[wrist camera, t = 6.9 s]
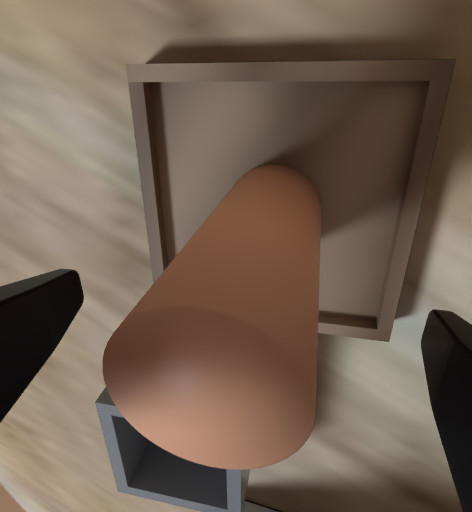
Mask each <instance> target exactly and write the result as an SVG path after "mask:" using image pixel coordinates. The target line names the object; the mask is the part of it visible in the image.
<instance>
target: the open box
mask: <svg viewBox="0 0 472 512" xmlns="http://www.w3.org/2000/svg"><path fill="white" fill-rule="evenodd" d="M95 404H96V408H97V412H98V416H99V419H100V423H101V427H102V431H103V435H104V439H105V443H106V447H107V451H108V455H109V458H110V462H111V466H112V470H113V474H114V478H115V482H116V486H117V490H118V492H122V493H126V494H130V495H135V496H139V497H143V498H147V499H152V500H156V501H160V502H164V503H169V504H173V505H177V506H181V507H185V508H190V509H194V510H198V511H202V512H243V506H244V501H245V495H246V490H247V484H248V479H249V474H250V469H222V468H216V467H210V466H205V465H202V464H198V463H194V462H192V461H189V460H186V459H183V458H181V457H179V456H176V455H174V454H172V453H170V452H168V451H166V450H164V449H162V448H161V447H159V446H157V445H156V444H154V443H153V442H151V441H150V440H148V439H147V438H146V437H144V436H143V435H142V434H141V433H139V432H138V431H137V430H136V429H135V428H134V427H133V426H132V425H131V424H130V423H129V422H128V421H127V420H126V419H125V418H124V417H123V415H122V414H121V413H120V411H119V410H118V409H117V407H116V406H115V404H114V402H113V401H112V399H111V397H110V395H109V392H108V390H107V387H106V388H105V389H104V390H103V392H102V393H101V395H100V396H99V398H98V399H97V400H96V402H95Z"/></svg>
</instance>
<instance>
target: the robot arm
mask: <svg viewBox="0 0 472 512" xmlns="http://www.w3.org/2000/svg"><path fill="white" fill-rule="evenodd" d="M83 300H84V294H83V290H82V286H81V281H80V277H79V274H78V272H77V271H75V270H70V269H59V270H55V271H52V272H48V273H45V274H42V275H38V276H35V277H31V278H28V279H24V280H21V281H18V282H14V283H11V284H7V285H4V286H1V287H0V423H1V421H2V420H3V419H4V417H5V416H6V415H7V413H8V412H9V411H10V409H11V408H12V407H13V405H14V404H15V403H16V401H17V400H18V398H19V397H20V396H21V394H22V393H23V392H24V390H25V389H26V388H27V386H28V385H29V384H30V382H31V381H32V380H33V378H34V377H35V376H36V374H37V373H38V372H39V370H40V369H41V368H42V366H43V365H44V364H45V362H46V361H47V360H48V358H49V357H50V356H51V354H52V353H53V351H54V350H55V348H56V347H57V345H58V344H59V342H60V341H61V339H62V337H63V336H64V334H65V332H66V331H67V329H68V327H69V326H70V324H71V322H72V321H73V319H74V317H75V316H76V314H77V312H78V311H79V309H80V307H81V306H82V304H83ZM421 350H422V355H423V361H424V367H425V373H426V379H427V385H428V390H429V396H430V402H431V407H432V411H433V414H434V418H435V421H436V425H437V428H438V431H439V435H440V438H441V441H442V445H443V448H444V451H445V454H446V458H447V461H448V464H449V468H450V471H451V474H452V478H453V481H454V484H455V488H456V491H457V494H458V497H459V501H460V504H461V507H462V511H463V512H472V325H471V324H470V323H468V322H467V321H465V320H464V319H462V318H461V317H459V316H458V315H456V314H455V313H453V312H451V311H445V310H432V311H430V313H429V315H428V318H427V321H426V325H425V328H424V332H423V335H422V339H421Z"/></svg>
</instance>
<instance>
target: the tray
mask: <svg viewBox="0 0 472 512" xmlns="http://www.w3.org/2000/svg"><path fill="white" fill-rule="evenodd" d="M455 60H456V59H432V60H367V61H302V62H237V63H172V64H126V68H127V76H128V84H129V92H130V100H131V108H132V116H133V124H134V132H135V140H136V147H137V155H138V163H139V171H140V179H141V187H142V195H143V203H144V211H145V219H146V226H147V234H148V242H149V250H150V258H151V266H152V274H153V282H154V283H155V281H156V280H157V279H158V278H159V277H160V275H161V274H162V273H163V272H164V270H165V269H166V268H167V267H168V265H169V264H170V263H171V262H172V261H173V259H174V258H175V257H176V256H177V254H178V253H179V252H180V251H181V250H182V248H183V247H184V246H185V245H186V243H187V242H188V241H189V240H190V238H191V237H192V236H193V235H194V234H195V232H196V231H197V230H198V229H199V227H200V226H201V225H202V224H203V222H204V221H205V220H206V219H207V218H208V216H209V215H210V214H211V213H212V211H213V210H214V209H215V208H216V207H217V205H218V204H219V203H220V202H221V200H222V199H223V198H224V197H225V195H226V194H227V193H228V192H229V191H230V189H231V188H232V187H233V186H234V184H235V183H236V182H237V181H238V180H239V179H240V177H242V176H243V175H244V174H245V173H247V172H248V171H250V170H252V169H254V168H256V167H260V166H263V165H283V166H287V167H290V168H293V169H295V170H297V171H299V172H300V173H302V174H303V175H304V176H306V177H307V178H308V179H309V180H310V181H311V183H312V184H313V185H314V187H315V189H316V190H317V192H318V195H319V197H320V201H321V209H322V211H321V246H320V282H319V318H318V333H323V334H331V335H339V336H346V337H354V338H362V339H370V340H378V341H385V342H389V340H390V336H391V331H392V327H393V323H394V319H395V315H396V310H397V306H398V302H399V298H400V293H401V289H402V285H403V281H404V276H405V272H406V268H407V264H408V259H409V255H410V251H411V247H412V243H413V238H414V234H415V230H416V226H417V221H418V217H419V213H420V209H421V204H422V200H423V196H424V192H425V187H426V183H427V179H428V175H429V171H430V166H431V162H432V158H433V154H434V149H435V145H436V141H437V137H438V132H439V128H440V124H441V120H442V115H443V111H444V107H445V103H446V99H447V94H448V90H449V86H450V82H451V77H452V73H453V69H454V65H455Z"/></svg>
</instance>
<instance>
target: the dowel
mask: <svg viewBox="0 0 472 512" xmlns="http://www.w3.org/2000/svg"><path fill="white" fill-rule="evenodd" d="M321 211H322V209H321V201H320V197H319V195H318V192H317V190H316V189H315V187H314V185H313V184H312V183H311V181H310V180H309V179H308V178H307V177H306V176H304V175H303V174H302V173H300V172H299V171H297V170H295V169H293V168H290V167H287V166H283V165H263V166H260V167H256V168H254V169H252V170H250V171H248V172H247V173H245V174H244V175H243V176H242V177H240V179H239V180H238V181H237V182H236V183H235V184H234V186H233V187H232V188H231V189H230V191H229V192H228V193H227V194H226V195H225V197H224V198H223V199H222V200H221V202H220V203H219V204H218V205H217V207H216V208H215V209H214V210H213V211H212V213H211V214H210V215H209V216H208V218H207V219H206V220H205V221H204V222H203V224H202V225H201V226H200V227H199V229H198V230H197V231H196V232H195V234H194V235H193V236H192V237H191V238H190V240H189V241H188V242H187V243H186V245H185V246H184V247H183V248H182V250H181V251H180V252H179V253H178V254H177V256H176V257H175V258H174V259H173V261H172V262H171V263H170V264H169V265H168V267H167V268H166V269H165V270H164V272H163V273H162V274H161V275H160V277H159V278H158V279H157V280H156V281H155V283H154V284H153V285H152V286H151V288H150V289H149V290H148V291H147V293H146V294H145V295H144V296H143V297H142V299H141V300H140V301H139V302H138V304H137V305H136V306H135V307H134V309H133V310H132V311H131V312H130V313H129V315H128V316H127V317H126V318H125V320H124V321H123V322H122V323H121V324H120V326H119V327H118V328H117V329H116V331H115V332H114V333H113V335H112V336H111V338H110V339H109V341H108V343H107V346H106V348H105V351H104V356H103V376H104V381H105V384H106V387H107V390H108V392H109V395H110V397H111V399H112V401H113V402H114V404H115V406H116V407H117V409H118V410H119V411H120V413H121V414H122V415H123V417H124V418H125V419H126V420H127V421H128V422H129V423H130V424H131V425H132V426H133V427H134V428H135V429H136V430H137V431H138V432H139V433H141V434H142V435H143V436H144V437H146V438H147V439H148V440H150V441H151V442H153V443H154V444H156V445H157V446H159V447H161V448H162V449H164V450H166V451H168V452H170V453H172V454H174V455H176V456H179V457H181V458H183V459H186V460H189V461H192V462H194V463H198V464H202V465H205V466H210V467H216V468H222V469H255V468H260V467H265V466H269V465H272V464H275V463H278V462H280V461H282V460H284V459H286V458H288V457H289V456H291V455H292V454H294V453H295V452H297V451H298V450H299V449H300V448H301V447H302V446H303V445H304V443H305V442H306V441H307V439H308V438H309V436H310V434H311V432H312V430H313V427H314V422H315V418H316V389H317V353H318V318H319V282H320V246H321Z"/></svg>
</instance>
